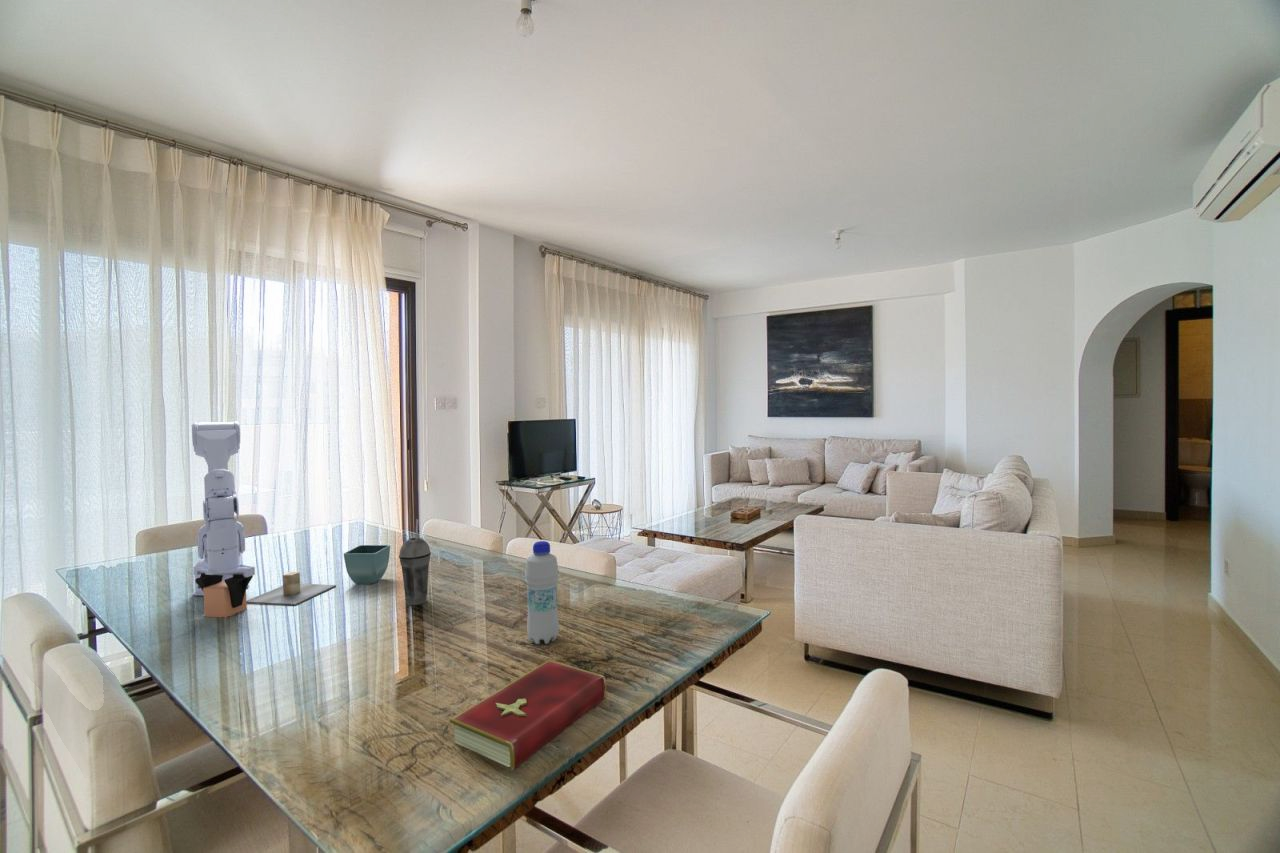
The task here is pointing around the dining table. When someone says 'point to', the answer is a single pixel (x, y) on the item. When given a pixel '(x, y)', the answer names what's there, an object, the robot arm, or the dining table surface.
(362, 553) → the flower pot
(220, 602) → the block
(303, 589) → the post block
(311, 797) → the dining table surface
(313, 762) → the dining table surface
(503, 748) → the hardcover book
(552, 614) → the bottle
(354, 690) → the dining table surface
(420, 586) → the beverage cup
